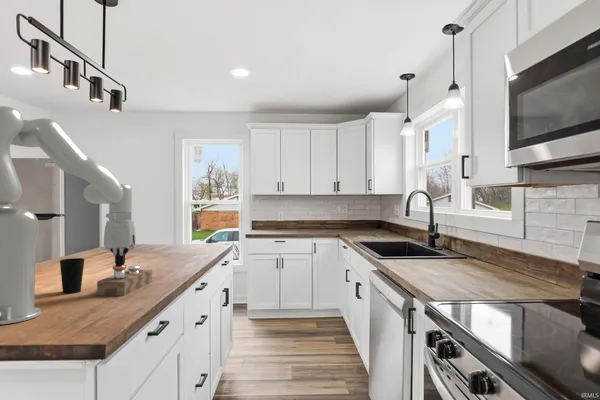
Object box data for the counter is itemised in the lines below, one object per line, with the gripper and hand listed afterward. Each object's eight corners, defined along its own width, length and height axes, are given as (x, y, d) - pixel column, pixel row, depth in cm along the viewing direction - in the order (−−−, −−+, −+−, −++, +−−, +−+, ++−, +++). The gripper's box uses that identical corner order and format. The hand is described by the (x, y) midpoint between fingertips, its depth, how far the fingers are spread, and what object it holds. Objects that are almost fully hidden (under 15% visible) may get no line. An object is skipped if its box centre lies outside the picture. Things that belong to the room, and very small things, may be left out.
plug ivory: (136, 285, 138) (136, 267, 138) (125, 285, 138) (125, 267, 138) (142, 282, 143) (142, 265, 143) (131, 282, 143) (131, 265, 143)
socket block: (124, 295, 124) (124, 281, 124) (97, 295, 124) (97, 281, 124) (152, 281, 146) (152, 269, 146) (128, 281, 146) (128, 269, 146)
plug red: (122, 285, 127) (122, 266, 127) (109, 285, 127) (110, 266, 127) (128, 283, 132) (128, 264, 132) (116, 282, 132) (116, 264, 132)
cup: (71, 295, 124) (72, 261, 124) (54, 293, 125) (54, 260, 125) (88, 290, 131) (89, 258, 131) (72, 288, 133) (72, 257, 133)
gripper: (94, 217, 126) (94, 267, 126) (135, 217, 126) (134, 267, 126) (106, 216, 134) (106, 263, 134) (144, 216, 133) (144, 264, 133)
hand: (120, 265), depth 130 cm, fingers closed
